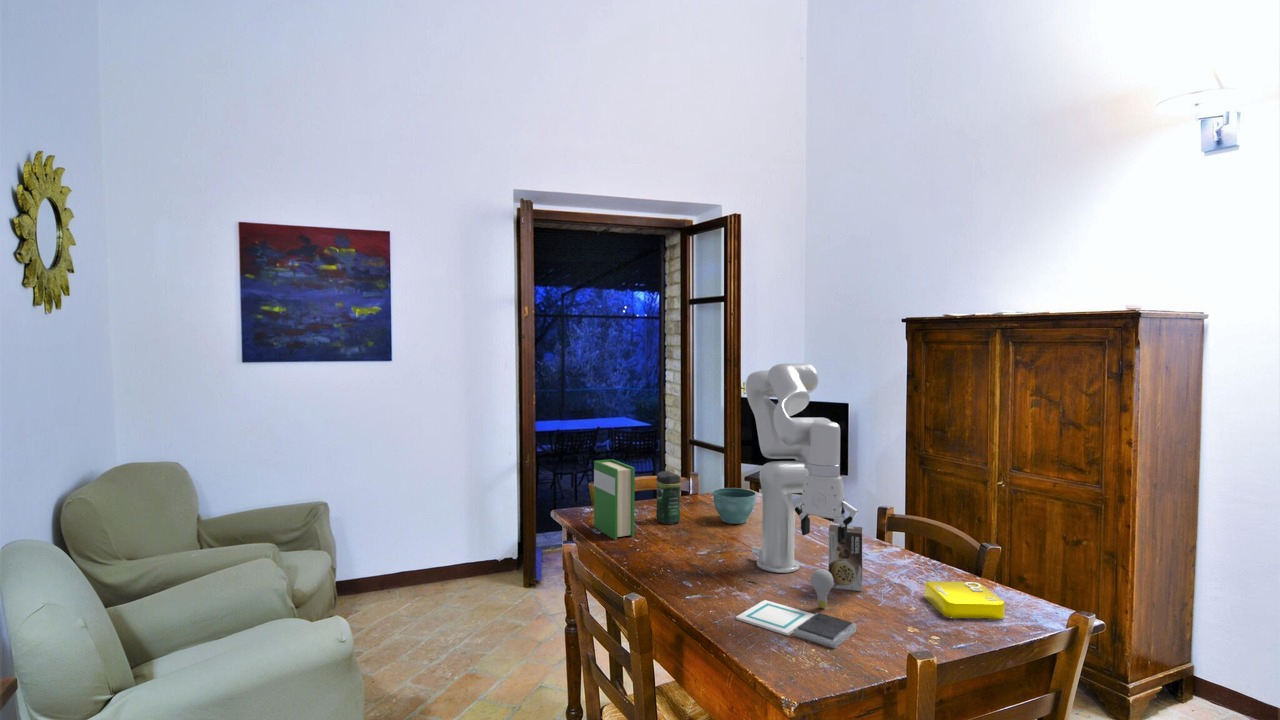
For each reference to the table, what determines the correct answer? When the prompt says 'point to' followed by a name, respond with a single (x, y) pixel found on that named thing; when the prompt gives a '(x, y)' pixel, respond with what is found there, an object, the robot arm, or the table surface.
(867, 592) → the table surface
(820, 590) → the light bulb
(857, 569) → the coffee box
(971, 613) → the element tile
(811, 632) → the ink pad
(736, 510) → the flower pot
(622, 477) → the hardback book
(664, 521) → the coffee jar
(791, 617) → the marked board
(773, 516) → the robot arm
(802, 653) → the table surface
